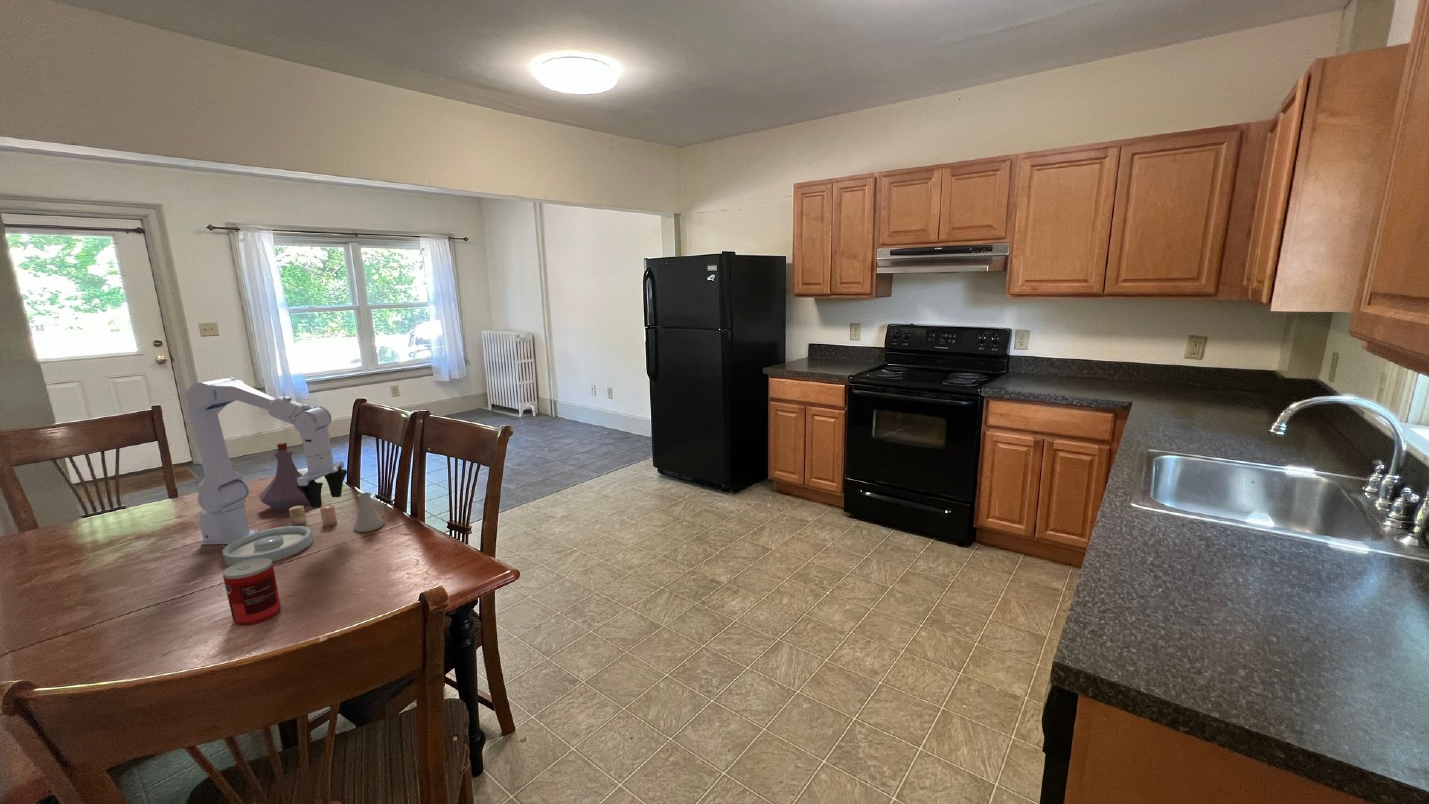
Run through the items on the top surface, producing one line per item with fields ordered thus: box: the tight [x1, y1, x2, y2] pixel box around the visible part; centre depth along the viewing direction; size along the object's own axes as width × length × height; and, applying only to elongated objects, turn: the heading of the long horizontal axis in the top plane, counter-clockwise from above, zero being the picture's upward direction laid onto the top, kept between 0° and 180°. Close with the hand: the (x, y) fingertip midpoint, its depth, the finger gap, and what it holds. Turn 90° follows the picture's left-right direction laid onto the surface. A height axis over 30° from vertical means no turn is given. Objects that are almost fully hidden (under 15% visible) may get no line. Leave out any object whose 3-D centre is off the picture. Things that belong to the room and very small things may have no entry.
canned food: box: [222, 558, 282, 626], centre depth 114 cm, size 8×8×11 cm
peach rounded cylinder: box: [319, 504, 338, 527], centre depth 160 cm, size 3×3×5 cm
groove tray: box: [222, 525, 314, 567], centre depth 145 cm, size 18×18×2 cm
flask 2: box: [353, 491, 386, 533], centre depth 156 cm, size 7×7×10 cm
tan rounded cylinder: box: [288, 506, 307, 526], centre depth 160 cm, size 3×3×5 cm
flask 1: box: [258, 442, 310, 511], centre depth 174 cm, size 16×16×20 cm
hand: (326, 502), depth 150 cm, fingers open, 7 cm apart
